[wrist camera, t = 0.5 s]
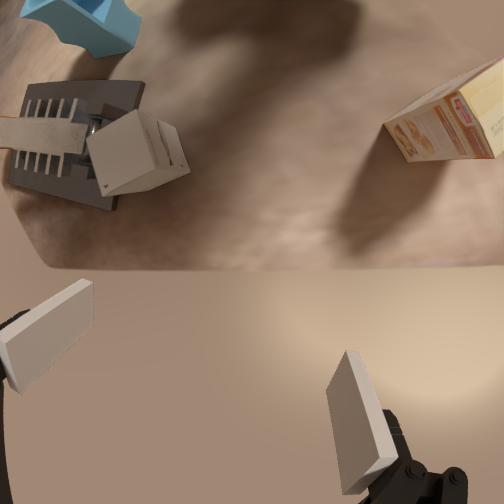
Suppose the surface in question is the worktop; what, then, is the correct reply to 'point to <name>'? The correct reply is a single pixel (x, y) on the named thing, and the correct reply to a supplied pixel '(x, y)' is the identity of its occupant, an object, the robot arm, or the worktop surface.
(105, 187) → the supplement box
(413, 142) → the coffeecake box
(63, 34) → the vase
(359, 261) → the worktop surface
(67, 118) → the heatsink
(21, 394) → the robot arm
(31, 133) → the strap
